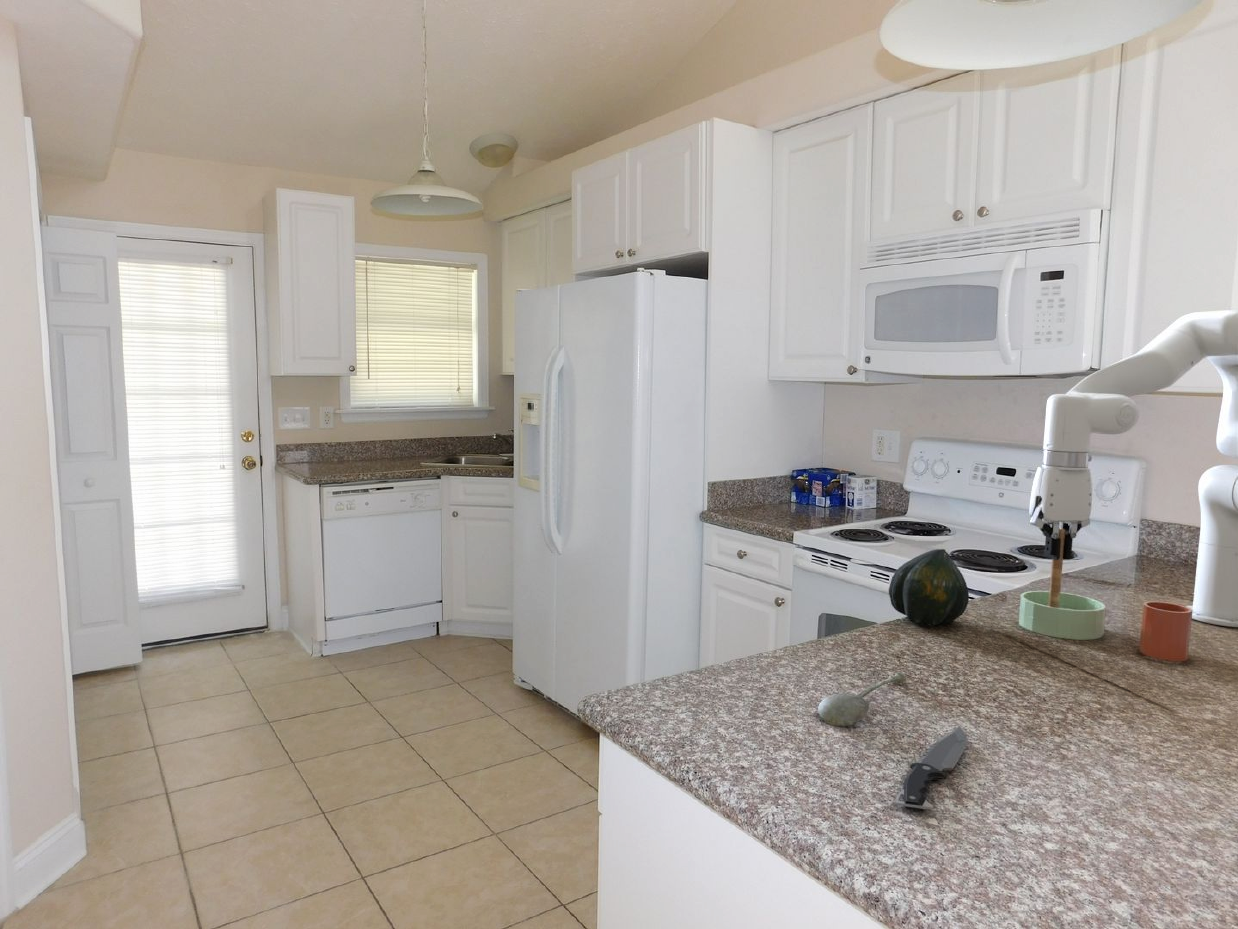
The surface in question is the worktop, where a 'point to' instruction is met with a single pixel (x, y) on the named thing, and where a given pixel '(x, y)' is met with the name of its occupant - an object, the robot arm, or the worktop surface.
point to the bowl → (1062, 616)
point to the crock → (1165, 631)
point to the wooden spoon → (1056, 574)
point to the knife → (931, 769)
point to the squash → (929, 589)
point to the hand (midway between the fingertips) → (1057, 557)
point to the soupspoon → (850, 704)
